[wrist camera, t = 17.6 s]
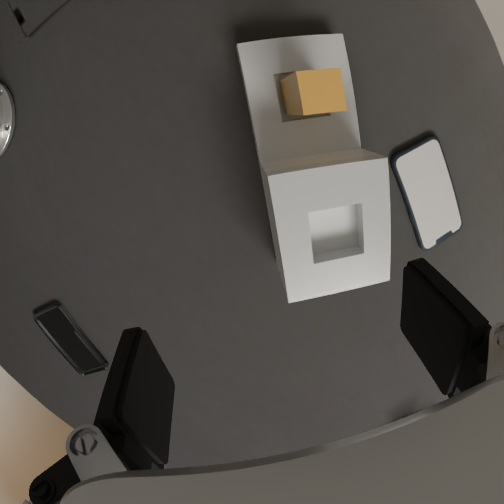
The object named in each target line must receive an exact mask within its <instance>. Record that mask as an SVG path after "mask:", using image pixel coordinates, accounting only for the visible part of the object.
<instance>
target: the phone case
mask: <svg viewBox="0 0 504 504" xmlns="http://www.w3.org/2000/svg"><path fill="white" fill-rule="evenodd" d="M390 165H391V168H392V171H393V173H394V176H395V178H396V181H397V184H398V186H399V189H400V192H401V194H402V197H403V200H404V203H405V206H406V208H407V211H408V215H409V218H410V221H411V224H412V226H413V229H414V232H415V235H416V239H417V242H418V245H419V247H420V248H421V249H423V250H424V251H428V250H430V249H432V248H434V247H435V246H437V245H438V244H440V243H441V242H443V241H444V240H446V239H447V238H449V237H450V236H452V235H453V234H455V233H456V232H458V231H459V230H460V229H461V227H462V218H461V214H460V209H459V205H458V201H457V197H456V194H455V190H454V186H453V183H452V179H451V176H450V172H449V169H448V166H447V162H446V159H445V156H444V153H443V150H442V147H441V144H440V141H439V140H438V138H437V137H435V136H431V135H429V136H427V137H425V138H423V139H421V140H419V141H417V142H415V143H413V144H412V145H410V146H408V147H406V148H404V149H402V150H400V151H399V152H397V153H395V154H394V155H393V156H392V157H391V160H390Z"/></svg>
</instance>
